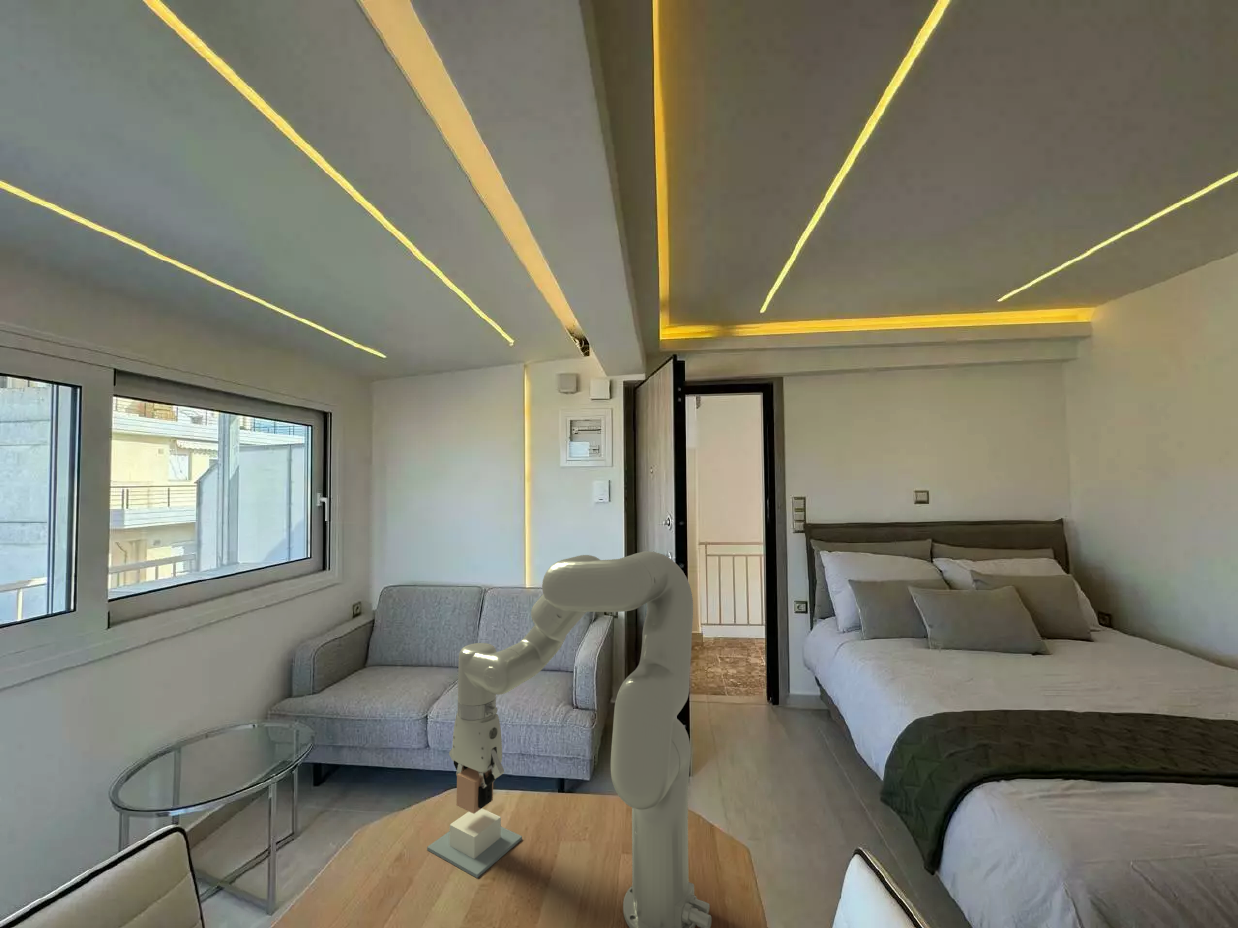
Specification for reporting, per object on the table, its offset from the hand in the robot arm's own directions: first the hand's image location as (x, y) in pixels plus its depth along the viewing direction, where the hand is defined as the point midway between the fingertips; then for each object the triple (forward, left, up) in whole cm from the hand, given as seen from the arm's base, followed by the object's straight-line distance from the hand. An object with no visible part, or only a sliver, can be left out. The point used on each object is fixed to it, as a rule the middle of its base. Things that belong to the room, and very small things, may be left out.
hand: (474, 798), depth 101 cm
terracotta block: (0, 0, -1) cm, 1 cm away
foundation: (0, 0, -9) cm, 9 cm away
